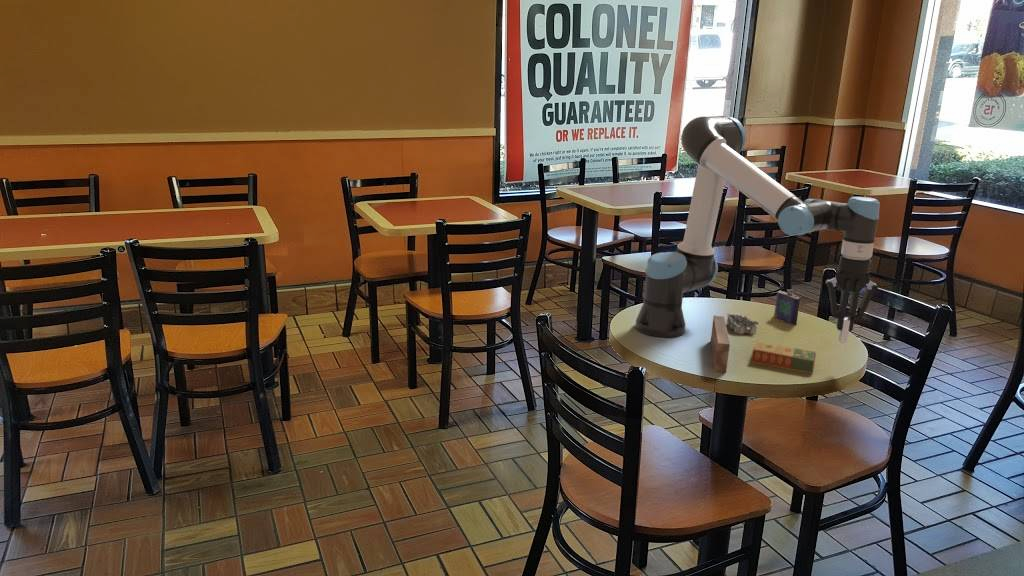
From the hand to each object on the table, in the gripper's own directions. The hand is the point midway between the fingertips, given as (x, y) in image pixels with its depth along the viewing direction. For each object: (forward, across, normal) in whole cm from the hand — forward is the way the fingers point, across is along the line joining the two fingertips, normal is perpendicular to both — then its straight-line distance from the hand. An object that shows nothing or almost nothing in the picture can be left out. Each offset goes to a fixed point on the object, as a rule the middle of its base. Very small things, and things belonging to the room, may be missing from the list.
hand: (842, 341), depth 199 cm
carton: (+9, -14, 0) cm, 17 cm away
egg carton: (+8, -24, +27) cm, 37 cm away
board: (+8, -32, 0) cm, 33 cm away
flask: (+8, -8, +40) cm, 42 cm away
